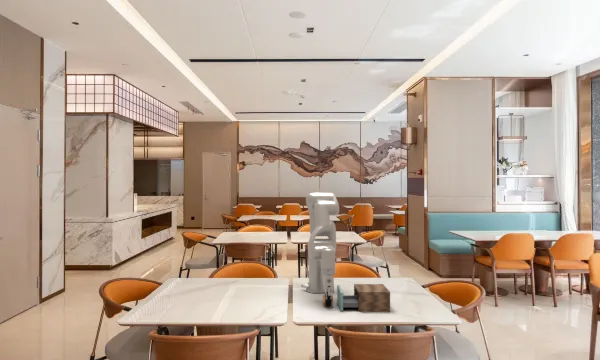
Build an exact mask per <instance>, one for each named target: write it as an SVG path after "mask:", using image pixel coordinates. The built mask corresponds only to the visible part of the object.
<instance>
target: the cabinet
mask: <svg viewBox="0 0 600 360" xmlns="http://www.w3.org/2000/svg"><path fill="white" fill-rule="evenodd" d="M353 295H359V307H356V308H357V311H358V312H359V313H360V312H362V313H363V312H365V313H366V312H368V313H370V312H371V313H372V312H375V313H376V312H377V313H379V312H381V313H382V312H384V313H385V312H389V313H390V312H391V291H390V290H389V289H388V288H387V287H386V285H384V284H383V283H354V284H353Z"/></svg>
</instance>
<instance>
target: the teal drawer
mask: <svg viewBox="0 0 600 360" xmlns="http://www.w3.org/2000/svg"><path fill="white" fill-rule="evenodd" d="M336 303H337V305H338V308H339V310H340V312H342V311H344V308H357V307H359V295H354V294H351V295H350V294H348V295H344V292H343V290H342V288H341V286H340V284H337V285H336Z"/></svg>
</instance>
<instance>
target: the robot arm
mask: <svg viewBox="0 0 600 360" xmlns="http://www.w3.org/2000/svg"><path fill="white" fill-rule="evenodd" d="M305 203H306V207H307V209H308V213H309V234H310V237H309V239H308V242H307V251H308V252H307V253H308V282H307V283H301V285H300V286H301V288H303V289H304V288H305V291H306V292H308V293H311V294H324V295H326V299H325V306H326V307H325V308H332V307H331V306H332V299H331V295H333V294H335V281H334V280H335V279H334V276H335V275H336V252H337V229H336V227H337V226H336V224H335V222H334V221H333V220H331V217H330V216H337V215H339V214H340V205H339V204H340V203H339V201H338V199H337V197H336V195H335V193H333V192H331V191H329V192H326V191H325V192H324V191H322V192H321V191H314V192H309V193H307V194H306V196H305ZM316 237H327V238H316Z"/></svg>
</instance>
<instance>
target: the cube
mask: <svg viewBox="0 0 600 360" xmlns="http://www.w3.org/2000/svg"><path fill="white" fill-rule="evenodd" d="M325 299H326V295H325V294H323V295H322V307H323V308H327V307H326V306H325ZM331 299H332V306H331V307H330V308H334V295H333V294H331Z"/></svg>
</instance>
